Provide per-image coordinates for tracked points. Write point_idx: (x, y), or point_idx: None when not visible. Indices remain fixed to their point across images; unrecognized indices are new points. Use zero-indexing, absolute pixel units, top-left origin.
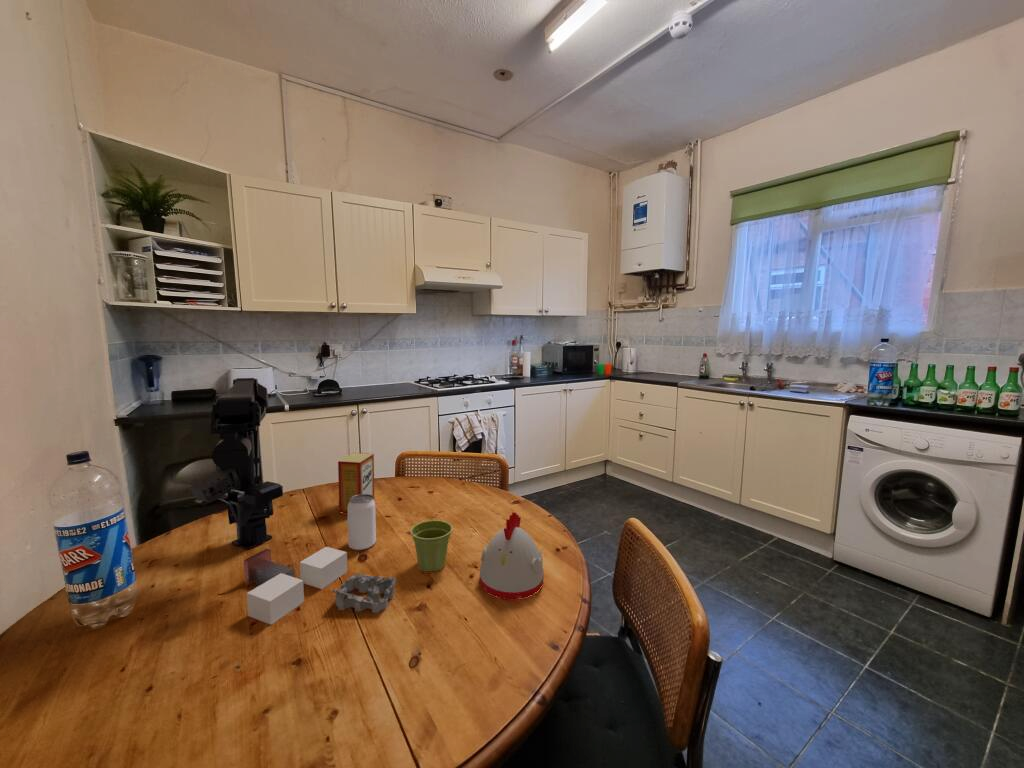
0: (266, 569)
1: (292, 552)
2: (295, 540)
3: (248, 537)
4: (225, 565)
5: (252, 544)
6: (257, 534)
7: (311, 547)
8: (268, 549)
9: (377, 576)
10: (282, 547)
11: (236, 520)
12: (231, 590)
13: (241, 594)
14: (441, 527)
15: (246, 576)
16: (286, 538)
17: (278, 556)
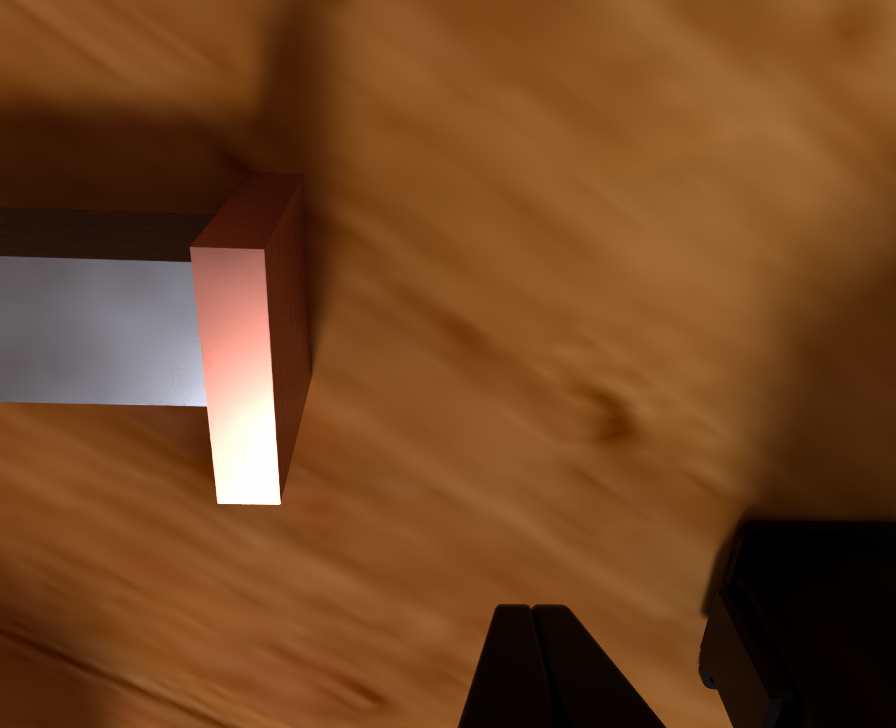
0: (64, 294)
1: (375, 602)
2: None
3: (811, 606)
4: (729, 305)
5: (752, 569)
6: (746, 653)
7: (306, 684)
8: (241, 496)
9: None
10: None
11: (606, 681)
12: (306, 45)
13: (155, 34)
14: None
15: (264, 193)
16: None
17: (425, 535)
